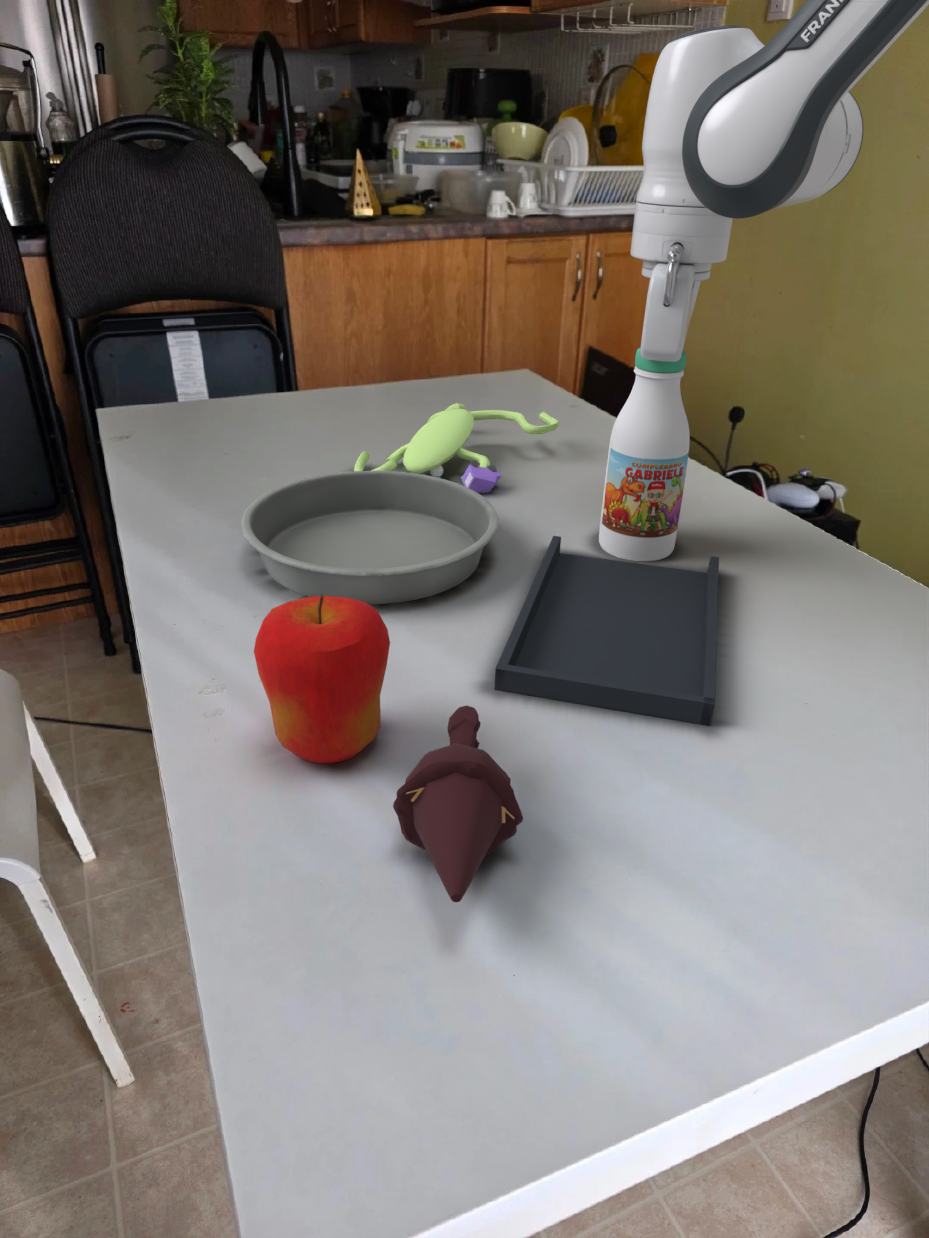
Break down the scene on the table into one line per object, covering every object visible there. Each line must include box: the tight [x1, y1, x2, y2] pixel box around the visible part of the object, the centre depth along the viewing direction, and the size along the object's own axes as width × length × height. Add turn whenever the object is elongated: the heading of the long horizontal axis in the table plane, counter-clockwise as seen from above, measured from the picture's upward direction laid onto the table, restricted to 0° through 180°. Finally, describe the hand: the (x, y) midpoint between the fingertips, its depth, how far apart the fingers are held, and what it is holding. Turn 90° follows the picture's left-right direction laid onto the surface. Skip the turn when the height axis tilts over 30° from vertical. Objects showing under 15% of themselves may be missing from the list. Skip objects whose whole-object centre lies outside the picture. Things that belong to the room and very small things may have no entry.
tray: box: [494, 535, 720, 727], centre depth 76 cm, size 26×16×2 cm, turn 165°
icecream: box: [392, 705, 524, 903], centre depth 51 cm, size 7×7×15 cm
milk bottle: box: [598, 346, 691, 562], centre depth 86 cm, size 8×8×20 cm
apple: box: [253, 593, 391, 765], centre depth 58 cm, size 9×8×12 cm
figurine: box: [353, 402, 560, 494], centre depth 110 cm, size 18×27×6 cm
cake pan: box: [240, 470, 500, 605], centre depth 86 cm, size 25×25×4 cm
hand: (660, 387), depth 88 cm, fingers closed
